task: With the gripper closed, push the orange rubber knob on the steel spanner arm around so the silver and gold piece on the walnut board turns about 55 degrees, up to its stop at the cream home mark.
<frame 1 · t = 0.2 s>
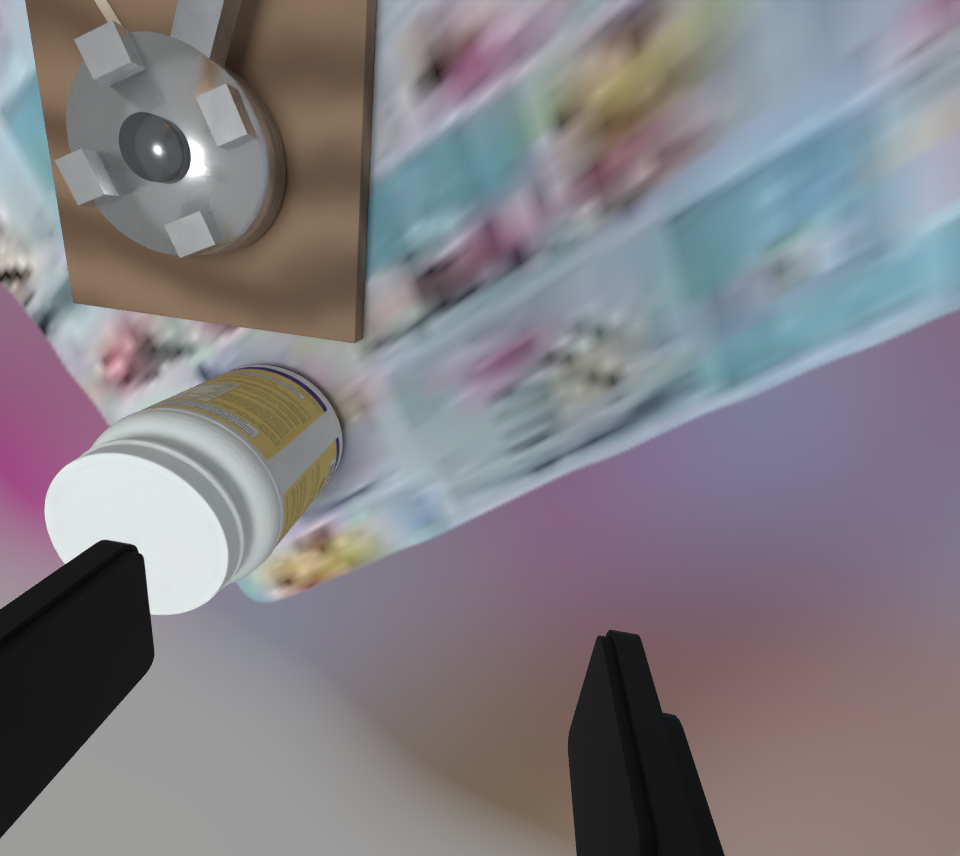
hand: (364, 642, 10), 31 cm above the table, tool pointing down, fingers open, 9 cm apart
supplement tub: (279, 430, 43), on the table
silver and gold piece: (171, 83, 29), point 7 cm above the table, hinge at 0.0°
nut board: (218, 165, 36), on the table
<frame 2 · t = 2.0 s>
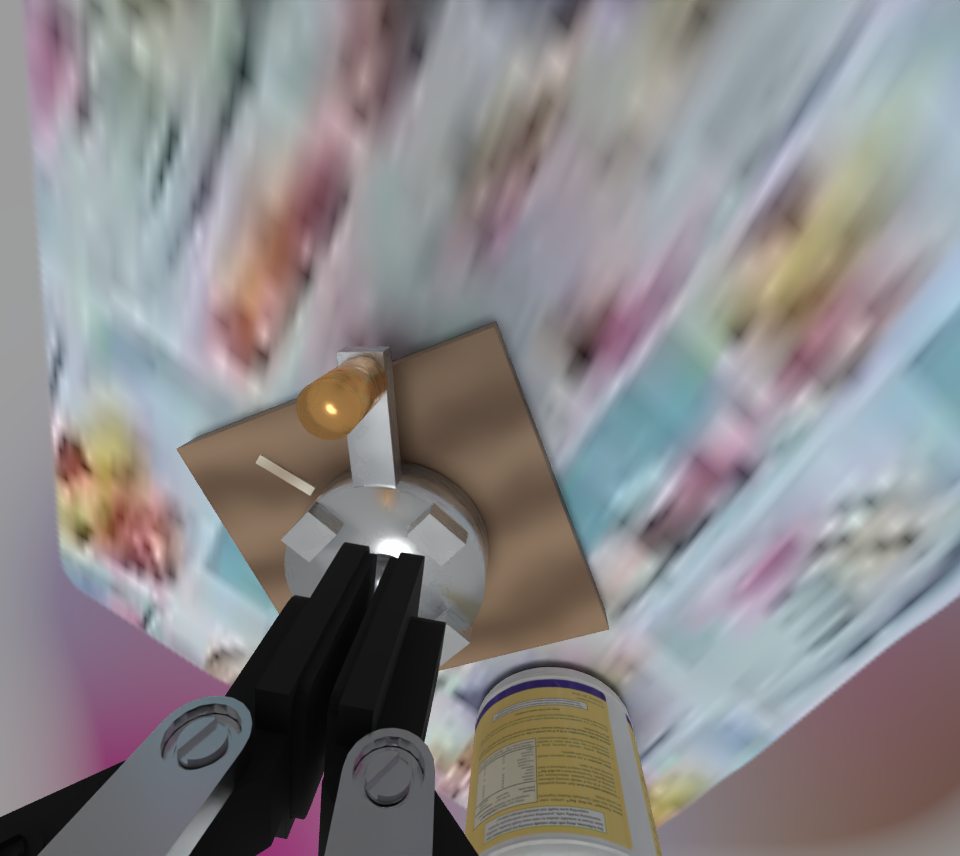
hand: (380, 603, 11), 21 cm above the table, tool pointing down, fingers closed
supplement tub: (552, 715, 40), on the table
silver and gold piece: (374, 529, 28), point 7 cm above the table, hinge at 0.0°
nut board: (405, 526, 35), on the table
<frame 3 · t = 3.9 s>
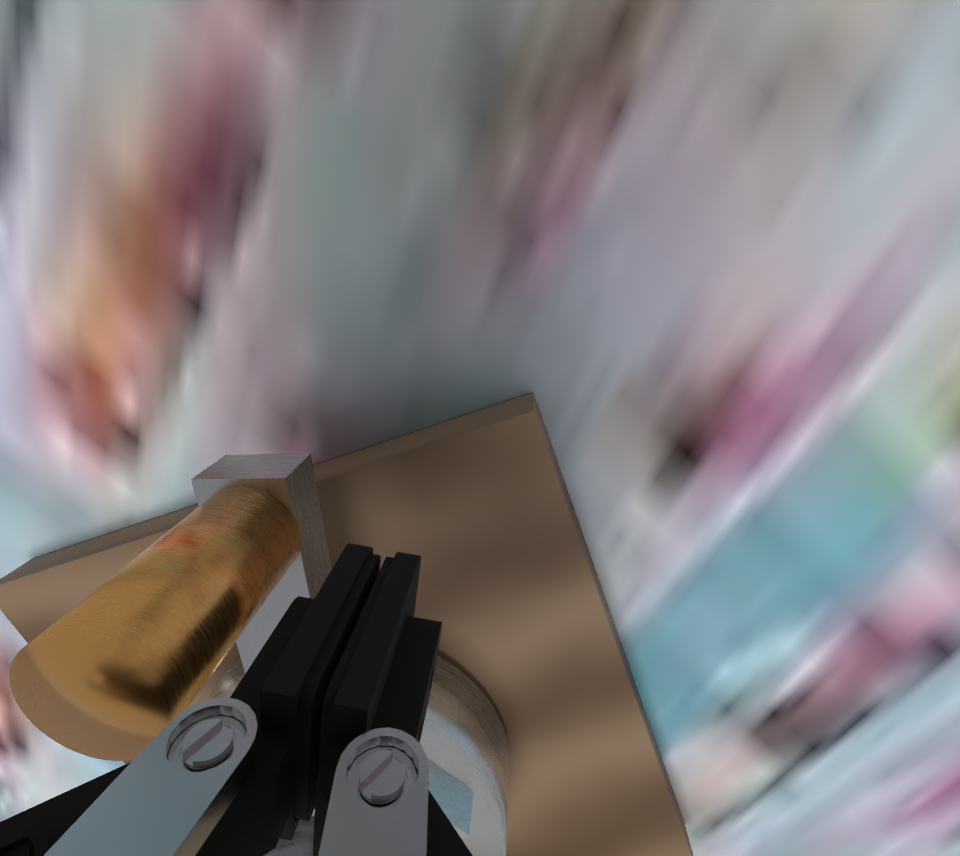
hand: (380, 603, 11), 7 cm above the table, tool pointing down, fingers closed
silver and gold piece: (296, 790, 15), point 7 cm above the table, hinge at 2.6°, touching gripper
nut board: (374, 698, 22), on the table
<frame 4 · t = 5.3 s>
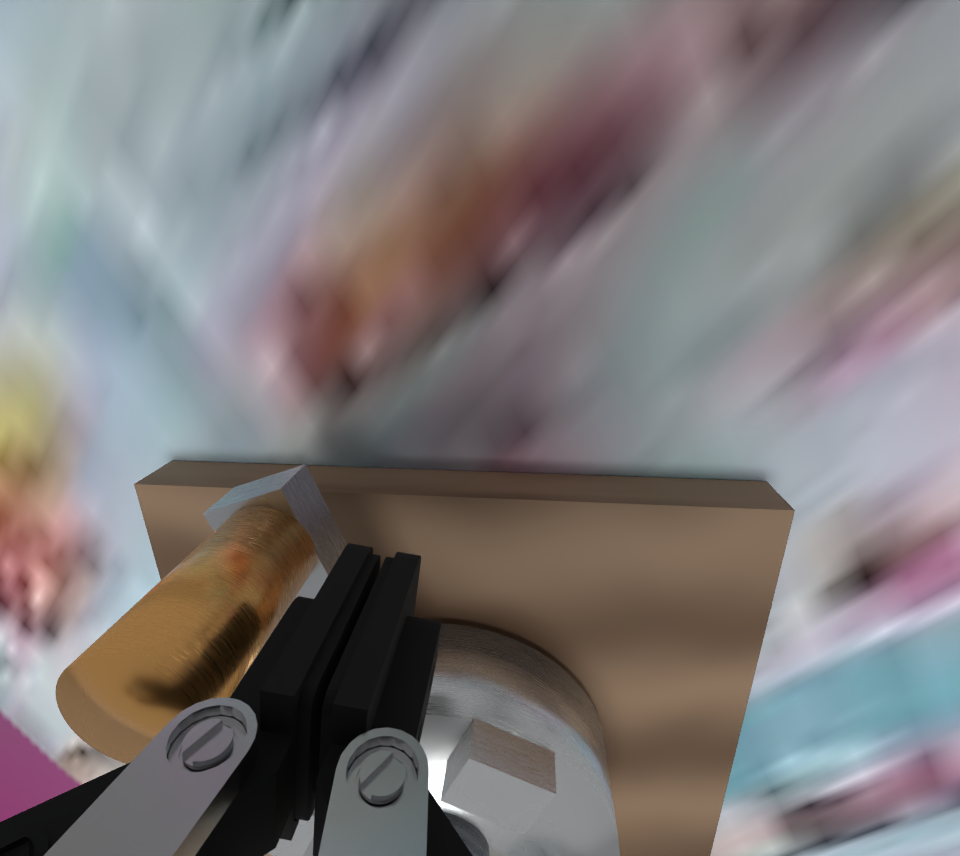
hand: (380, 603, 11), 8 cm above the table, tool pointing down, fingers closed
silver and gold piece: (386, 786, 15), point 7 cm above the table, hinge at 40.2°, touching gripper
nut board: (459, 693, 22), on the table
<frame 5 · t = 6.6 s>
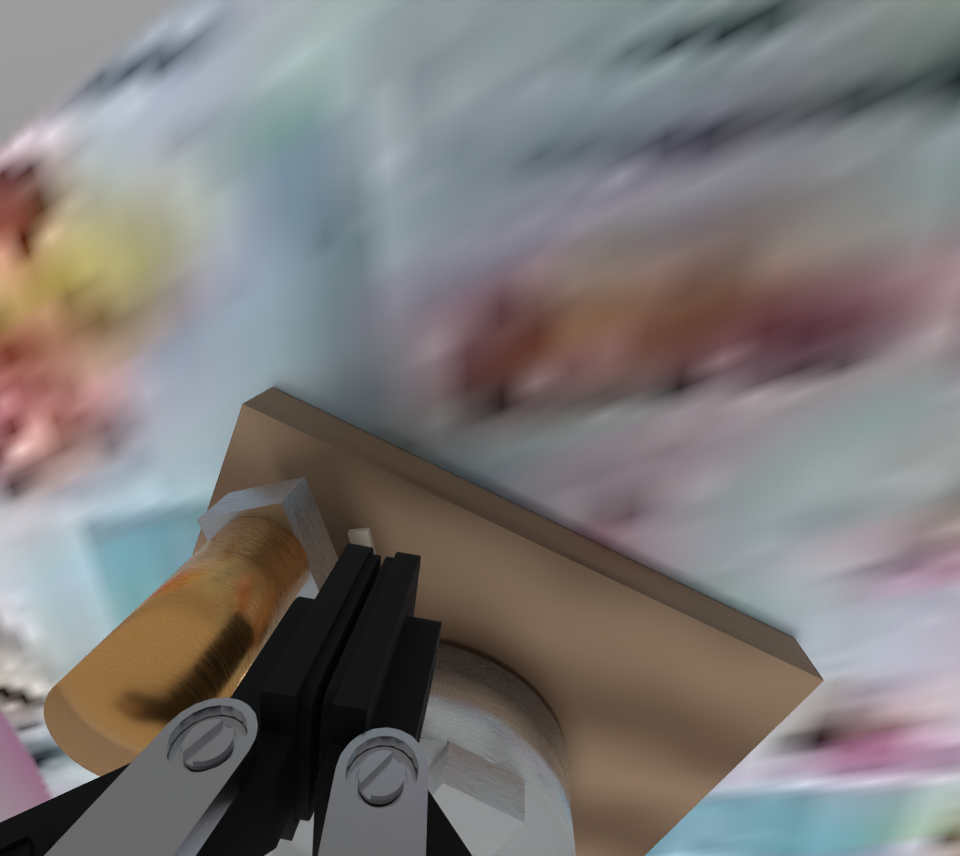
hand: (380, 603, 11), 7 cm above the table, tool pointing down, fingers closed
silver and gold piece: (353, 803, 15), point 7 cm above the table, hinge at 60.7°, touching gripper
nut board: (426, 708, 22), on the table
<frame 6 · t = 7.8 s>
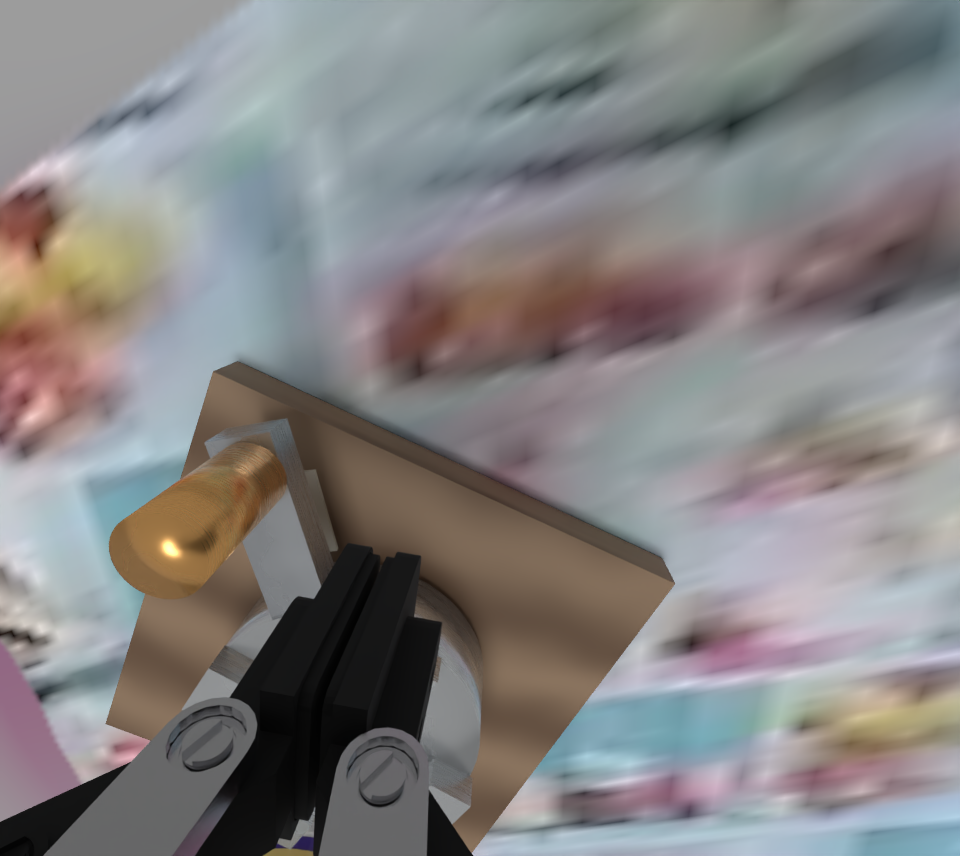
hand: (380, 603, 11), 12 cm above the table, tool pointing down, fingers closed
silver and gold piece: (309, 674, 20), point 7 cm above the table, hinge at 56.2°
nut board: (373, 631, 27), on the table
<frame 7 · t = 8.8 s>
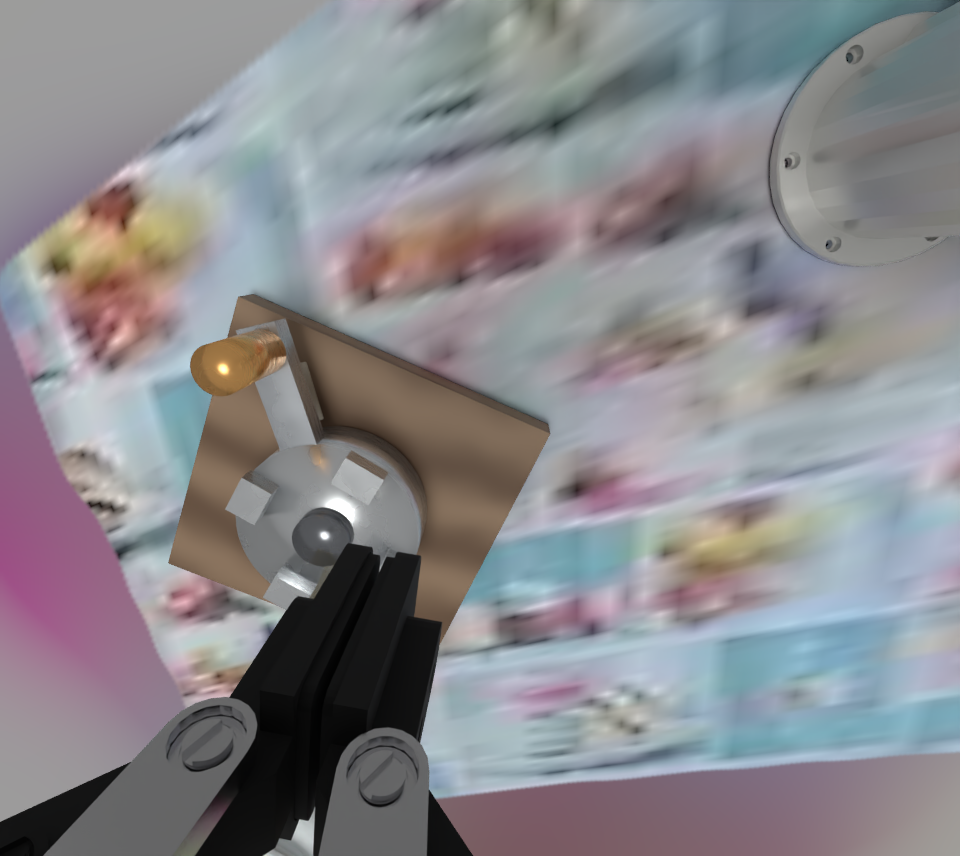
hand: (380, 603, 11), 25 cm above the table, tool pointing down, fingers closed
supplement tub: (324, 687, 45), on the table
silver and gold piece: (304, 484, 31), point 7 cm above the table, hinge at 56.2°
nut board: (353, 490, 38), on the table
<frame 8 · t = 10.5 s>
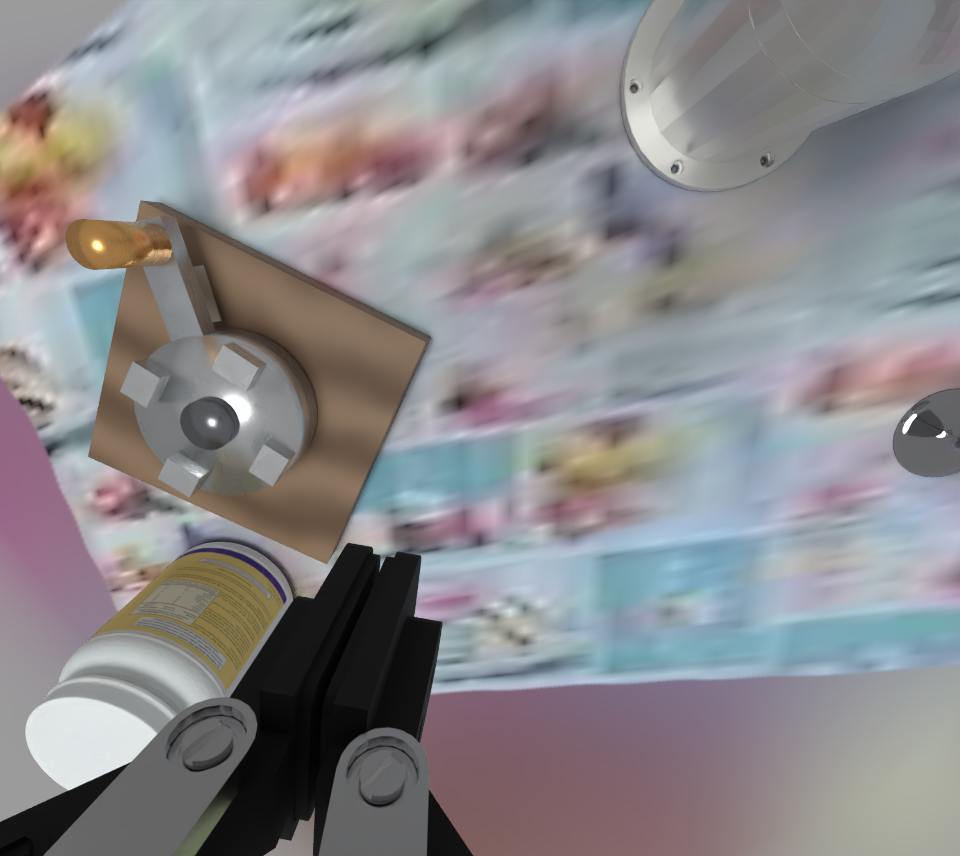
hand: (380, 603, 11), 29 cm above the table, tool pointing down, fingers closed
wine glass: (942, 433, 38), on the table
supplement tub: (238, 588, 49), on the table
silver and gold piece: (191, 371, 34), point 7 cm above the table, hinge at 56.2°
nut board: (257, 396, 41), on the table
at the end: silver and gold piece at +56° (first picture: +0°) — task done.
